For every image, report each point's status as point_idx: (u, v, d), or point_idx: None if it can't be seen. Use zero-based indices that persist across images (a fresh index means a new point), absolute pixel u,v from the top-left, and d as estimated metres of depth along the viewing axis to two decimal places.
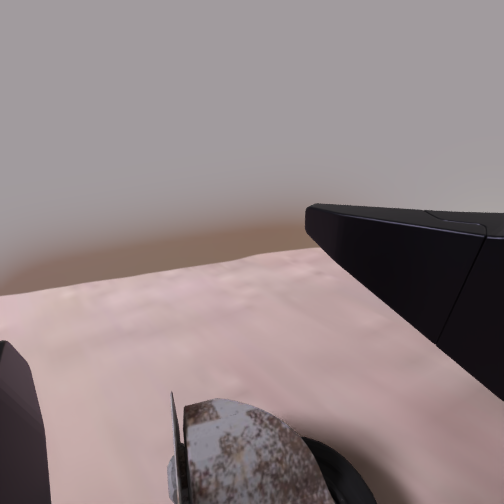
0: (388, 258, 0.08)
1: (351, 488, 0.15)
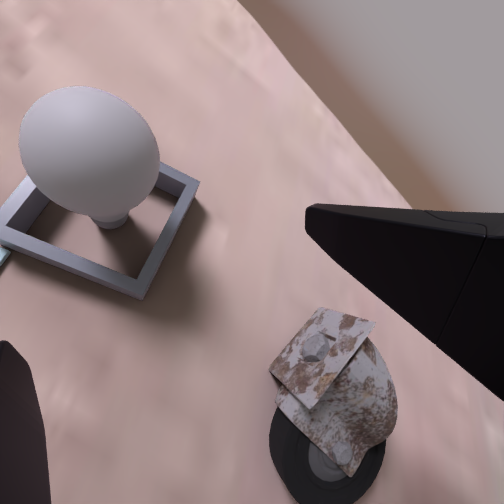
0: (388, 258, 0.08)
1: (373, 460, 0.20)
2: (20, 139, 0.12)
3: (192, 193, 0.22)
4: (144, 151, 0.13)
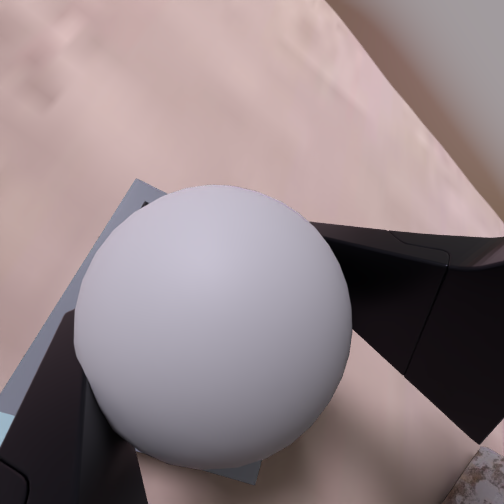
0: (351, 282, 0.08)
1: None
2: (82, 350, 0.05)
3: None
4: (351, 335, 0.06)
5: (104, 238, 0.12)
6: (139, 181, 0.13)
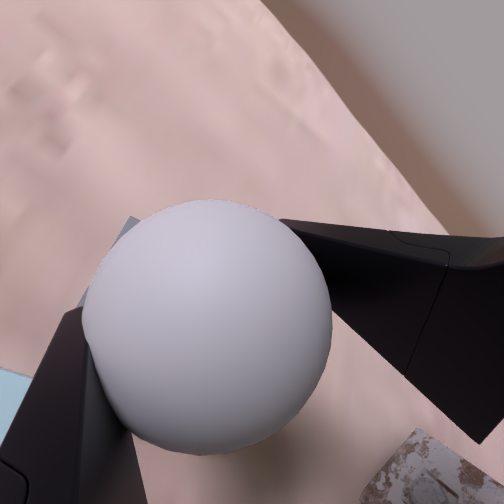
0: (351, 282, 0.07)
1: None
2: (98, 344, 0.05)
3: None
4: (331, 331, 0.07)
5: None
6: (133, 218, 0.17)
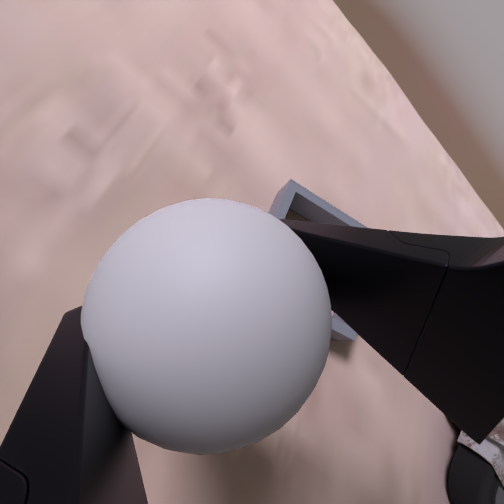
0: (351, 282, 0.08)
1: None
2: (97, 343, 0.05)
3: None
4: (331, 331, 0.07)
5: (280, 209, 0.22)
6: (292, 181, 0.23)
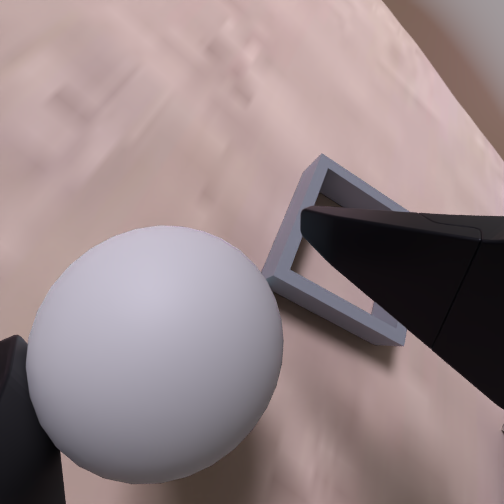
0: (383, 261, 0.08)
1: None
2: (28, 376, 0.06)
3: None
4: (275, 368, 0.07)
5: (310, 188, 0.18)
6: (323, 155, 0.20)
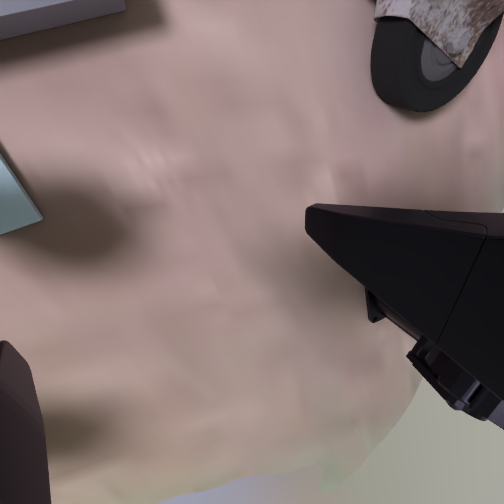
0: (388, 258, 0.08)
1: (483, 43, 0.19)
2: None
3: None
4: None
5: None
6: None
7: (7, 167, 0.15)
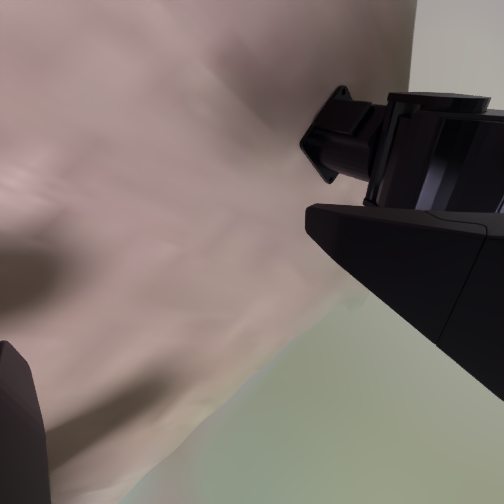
0: (388, 258, 0.08)
1: None
2: None
3: None
4: None
5: None
6: None
7: None
